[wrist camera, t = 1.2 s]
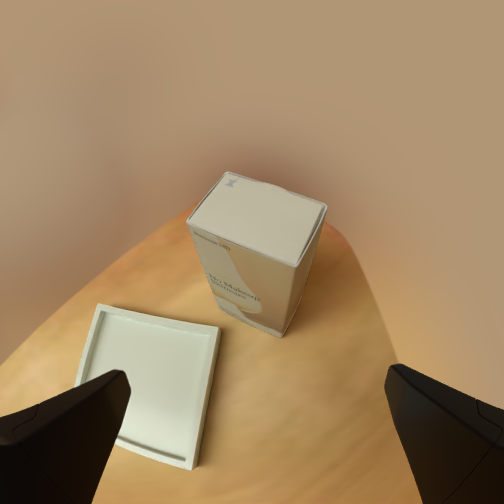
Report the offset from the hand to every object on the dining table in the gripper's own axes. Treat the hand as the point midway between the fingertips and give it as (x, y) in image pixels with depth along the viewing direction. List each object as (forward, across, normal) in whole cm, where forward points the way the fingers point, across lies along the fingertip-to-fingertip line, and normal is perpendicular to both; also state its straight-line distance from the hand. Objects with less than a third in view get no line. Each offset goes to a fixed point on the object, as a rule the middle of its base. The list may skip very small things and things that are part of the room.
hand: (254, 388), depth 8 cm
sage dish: (+10, +10, +9) cm, 17 cm away
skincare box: (+16, 0, +4) cm, 16 cm away
